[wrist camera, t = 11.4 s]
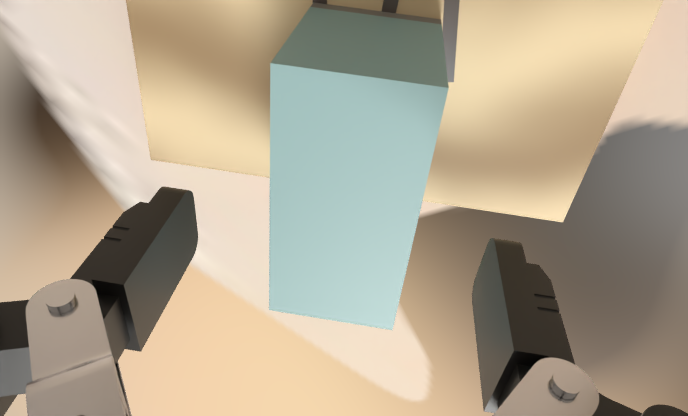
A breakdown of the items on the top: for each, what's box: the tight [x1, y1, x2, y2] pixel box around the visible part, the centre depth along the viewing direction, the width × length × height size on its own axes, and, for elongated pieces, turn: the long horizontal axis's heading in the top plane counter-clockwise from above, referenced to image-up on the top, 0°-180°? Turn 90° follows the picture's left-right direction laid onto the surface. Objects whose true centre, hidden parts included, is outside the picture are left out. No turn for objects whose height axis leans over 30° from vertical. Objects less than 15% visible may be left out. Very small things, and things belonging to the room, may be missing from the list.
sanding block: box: [269, 2, 449, 330], centre depth 17 cm, size 9×4×6 cm, turn 175°
